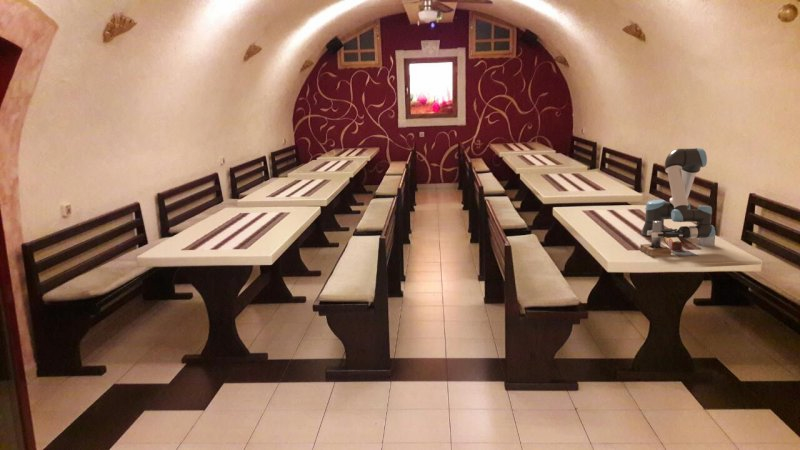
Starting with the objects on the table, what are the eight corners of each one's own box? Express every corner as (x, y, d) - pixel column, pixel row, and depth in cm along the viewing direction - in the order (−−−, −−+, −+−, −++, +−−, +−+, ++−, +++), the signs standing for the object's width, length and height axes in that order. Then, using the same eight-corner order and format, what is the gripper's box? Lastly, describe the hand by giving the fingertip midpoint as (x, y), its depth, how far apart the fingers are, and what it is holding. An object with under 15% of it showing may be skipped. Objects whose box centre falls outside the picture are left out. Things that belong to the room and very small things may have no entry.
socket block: (640, 250, 354) (640, 244, 354) (659, 249, 355) (659, 243, 354) (651, 256, 341) (651, 250, 340) (670, 255, 341) (671, 249, 341)
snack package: (682, 251, 351) (683, 240, 349) (670, 251, 352) (671, 240, 351) (675, 242, 371) (675, 232, 369) (664, 242, 372) (664, 232, 371)
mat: (668, 252, 349) (668, 251, 349) (688, 251, 350) (688, 250, 350) (679, 257, 338) (679, 256, 338) (699, 256, 338) (699, 255, 338)
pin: (649, 246, 349) (651, 220, 346) (657, 246, 349) (659, 220, 346) (653, 248, 344) (655, 222, 341) (661, 248, 345) (663, 222, 341)
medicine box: (710, 244, 364) (711, 230, 362) (714, 246, 360) (715, 232, 358) (698, 244, 364) (699, 231, 362) (702, 246, 359) (703, 232, 357)
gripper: (695, 242, 338) (656, 243, 337) (679, 234, 356) (642, 236, 354) (696, 229, 336) (657, 231, 335) (679, 223, 354) (642, 224, 353)
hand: (649, 234), depth 345 cm, fingers closed on pin, 5 cm apart
